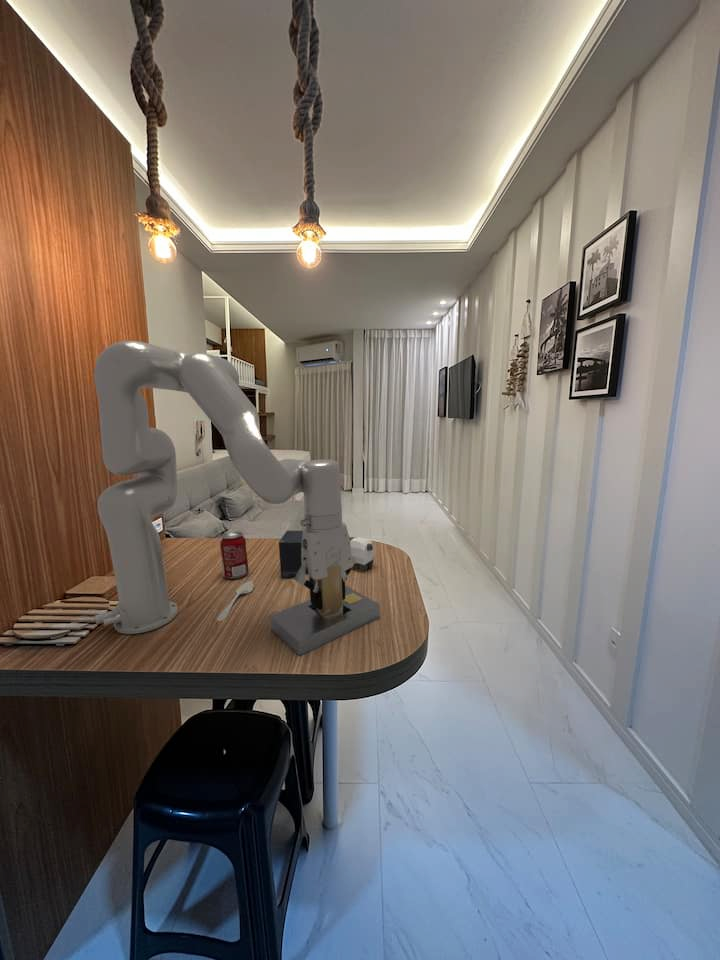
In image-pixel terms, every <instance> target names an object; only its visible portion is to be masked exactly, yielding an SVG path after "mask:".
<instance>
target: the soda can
mask: <svg viewBox="0 0 720 960" xmlns="http://www.w3.org/2000/svg"><path fill="white" fill-rule="evenodd" d="M246 540H247V539H246V538H245V536H244V535H243V532H241V531H230V532H226V533H223V534H222V535H221V540H220V542H219V545H220V555H221V565H222V574H223V577H224V578H226V579H230V580H236V579H241V578H243V577H244V576H246V575H247V574H248V573H249V562H248V553H247V552H248V551H247V543H246V542H247V541H246Z"/></svg>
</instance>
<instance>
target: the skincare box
mask: <svg viewBox="0 0 720 960" xmlns="http://www.w3.org/2000/svg"><path fill="white" fill-rule="evenodd" d="M327 573H328V577H326V578H324V579H321V581H320V586H319V590H320V591H321V593H322V609H320V610H319V609H317V608H316V610H317V612H318V614H320V615H321V616H322V617H324V618H325V619H327V620H328V621H329V620H331V619H333V618H336V617H338V616H340V615H342V614H343V601H342V577H341V564H339V563H338V564H335V565H332V566H330V567H328V568H327Z"/></svg>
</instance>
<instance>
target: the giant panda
mask: <svg viewBox="0 0 720 960" xmlns="http://www.w3.org/2000/svg"><path fill="white" fill-rule="evenodd" d="M349 539H350V545H351V553H352V556H353V557H354V558H355V559H356V563H355V564H359V568H358V572H363V573H366V572H367V571H368V569H371V568H372V569H373V567H374V560H375V546H374V544H373V542H372V541H371V540H370V539H368V538H366V537H363V536H362V537H359V536H358V537H354V536H353V537H351V536H349Z"/></svg>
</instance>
